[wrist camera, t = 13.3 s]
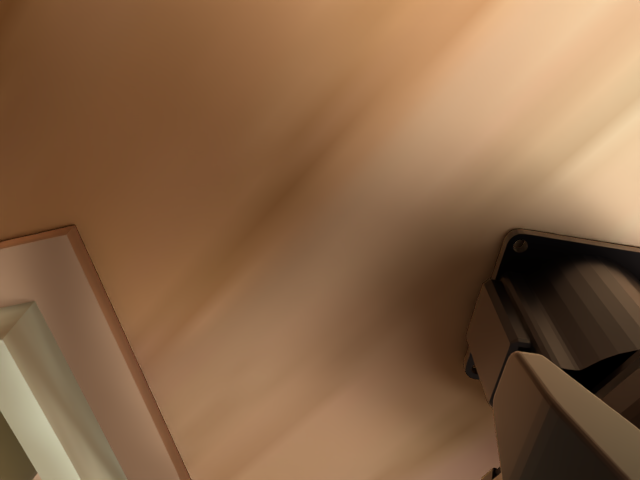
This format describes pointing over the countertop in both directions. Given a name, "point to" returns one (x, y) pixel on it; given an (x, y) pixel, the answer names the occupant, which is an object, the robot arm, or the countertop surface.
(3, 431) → the cork
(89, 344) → the shaker holder
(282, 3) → the countertop surface
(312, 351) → the countertop surface
